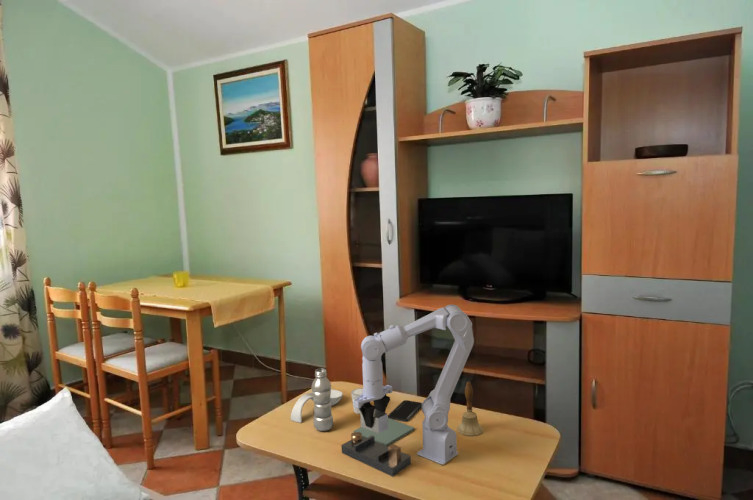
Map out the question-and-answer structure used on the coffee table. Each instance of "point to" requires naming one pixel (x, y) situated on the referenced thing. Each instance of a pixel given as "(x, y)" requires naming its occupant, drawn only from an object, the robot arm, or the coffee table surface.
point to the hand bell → (469, 416)
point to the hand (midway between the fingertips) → (374, 423)
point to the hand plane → (376, 454)
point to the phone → (405, 411)
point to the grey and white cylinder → (355, 395)
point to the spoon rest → (302, 400)
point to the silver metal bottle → (322, 401)
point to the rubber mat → (388, 432)
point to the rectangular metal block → (376, 422)
